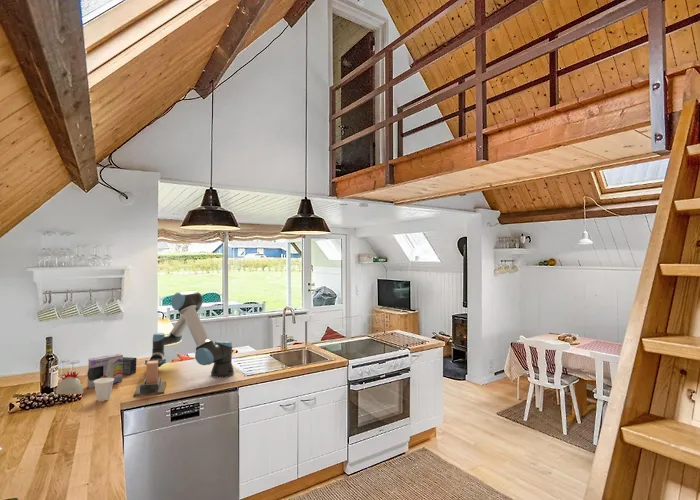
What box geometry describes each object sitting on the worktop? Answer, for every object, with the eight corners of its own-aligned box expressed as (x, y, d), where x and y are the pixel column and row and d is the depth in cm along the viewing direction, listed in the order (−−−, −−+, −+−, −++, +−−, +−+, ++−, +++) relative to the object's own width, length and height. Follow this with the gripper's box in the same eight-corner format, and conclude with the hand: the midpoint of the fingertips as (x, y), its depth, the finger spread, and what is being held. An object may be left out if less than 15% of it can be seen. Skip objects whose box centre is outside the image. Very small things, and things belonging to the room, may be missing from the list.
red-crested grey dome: (83, 399, 221) (84, 372, 221) (52, 403, 213) (53, 376, 213) (83, 391, 232) (84, 366, 232) (54, 395, 224) (55, 369, 225)
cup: (117, 398, 223) (118, 378, 223) (101, 404, 214) (102, 384, 214) (104, 395, 226) (105, 376, 227) (88, 401, 217) (89, 381, 217)
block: (157, 382, 247) (158, 360, 248) (156, 385, 242) (157, 362, 242) (147, 383, 245) (147, 361, 245) (145, 386, 240) (146, 363, 240)
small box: (136, 372, 271) (137, 357, 271) (130, 375, 264) (131, 359, 265) (122, 371, 272) (123, 356, 272) (116, 374, 265) (116, 359, 266)
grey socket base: (166, 383, 251) (166, 373, 251) (163, 393, 232) (164, 383, 232) (138, 385, 245) (138, 375, 245) (133, 396, 226) (133, 386, 226)
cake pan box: (87, 388, 237) (88, 359, 237) (85, 386, 240) (86, 358, 240) (122, 382, 251) (123, 354, 251) (120, 380, 254) (121, 353, 254)
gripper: (166, 363, 273) (163, 373, 251) (145, 365, 268) (141, 375, 246) (167, 352, 273) (164, 361, 251) (146, 354, 268) (141, 363, 246)
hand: (152, 368), depth 248 cm, fingers closed
